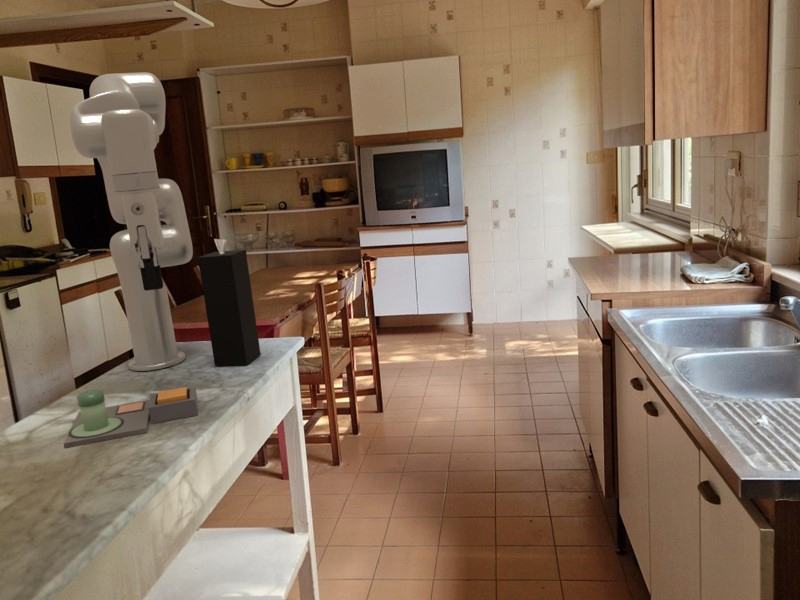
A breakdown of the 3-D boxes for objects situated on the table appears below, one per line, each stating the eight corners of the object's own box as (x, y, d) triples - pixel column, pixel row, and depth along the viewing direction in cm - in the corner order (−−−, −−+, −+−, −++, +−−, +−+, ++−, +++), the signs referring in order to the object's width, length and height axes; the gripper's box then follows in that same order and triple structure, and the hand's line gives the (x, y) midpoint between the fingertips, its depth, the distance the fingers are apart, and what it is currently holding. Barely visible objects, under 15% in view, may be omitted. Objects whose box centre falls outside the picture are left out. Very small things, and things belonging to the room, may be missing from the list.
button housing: (153, 409, 128) (151, 394, 128) (197, 401, 130) (195, 386, 130) (151, 423, 121) (148, 407, 120) (198, 415, 123) (195, 399, 122)
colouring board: (79, 416, 129) (78, 411, 128) (152, 403, 132) (151, 398, 132) (64, 448, 114) (63, 442, 113) (146, 432, 117) (145, 427, 117)
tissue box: (247, 365, 151) (228, 239, 145) (214, 367, 152) (194, 242, 147) (261, 355, 158) (244, 235, 153) (229, 356, 160) (211, 237, 154)
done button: (160, 404, 127) (158, 391, 127) (188, 399, 128) (186, 387, 128) (159, 412, 122) (157, 400, 122) (188, 407, 124) (186, 395, 123)
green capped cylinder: (85, 424, 121) (78, 392, 119) (110, 420, 122) (104, 388, 121) (81, 433, 117) (75, 400, 115) (108, 428, 118) (101, 395, 117)
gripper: (156, 183, 111) (174, 293, 115) (160, 181, 125) (176, 279, 129) (107, 188, 109) (127, 300, 113) (117, 185, 123) (134, 284, 127)
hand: (153, 288), depth 121 cm, fingers closed
